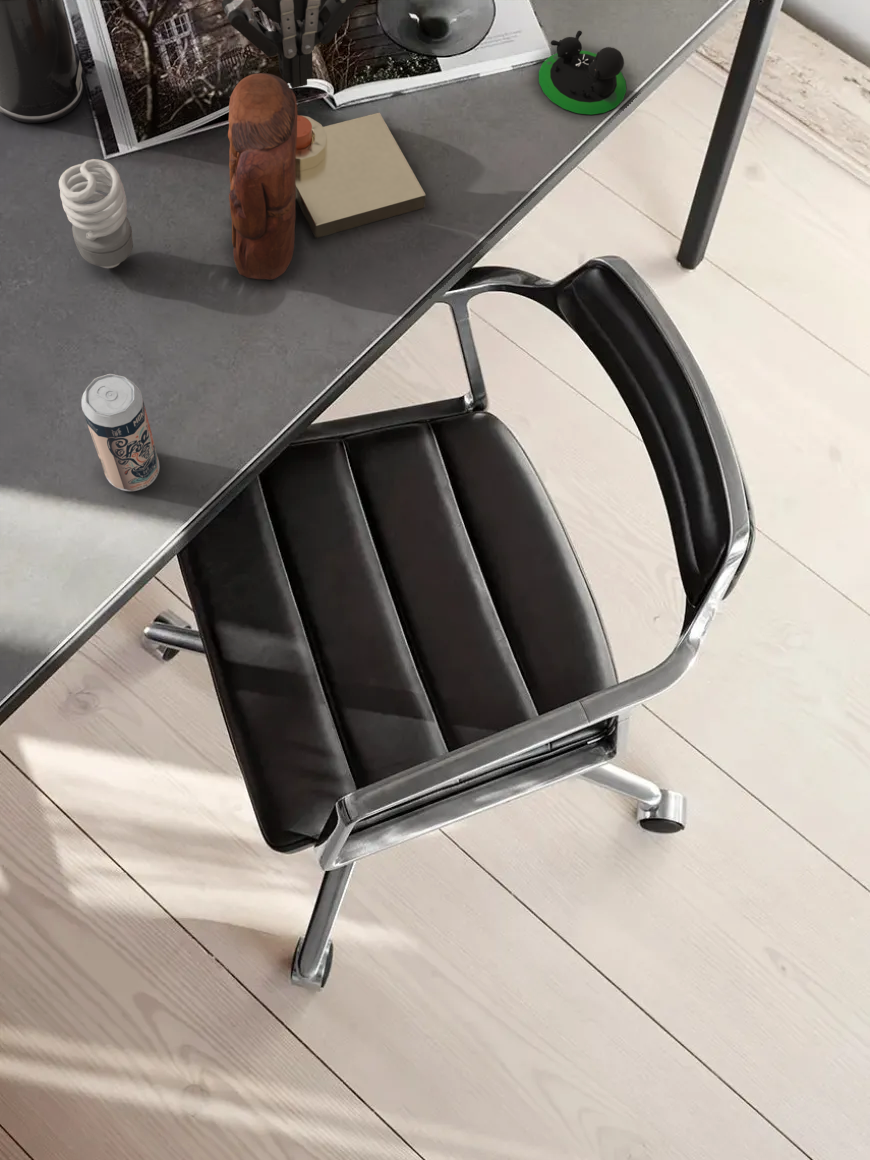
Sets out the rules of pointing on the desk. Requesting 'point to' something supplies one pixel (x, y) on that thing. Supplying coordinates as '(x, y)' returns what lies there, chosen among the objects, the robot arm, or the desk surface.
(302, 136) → the button
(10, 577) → the desk surface
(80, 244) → the light bulb
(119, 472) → the beer can
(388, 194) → the scale
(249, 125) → the wooden figurine
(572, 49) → the toy figurine
